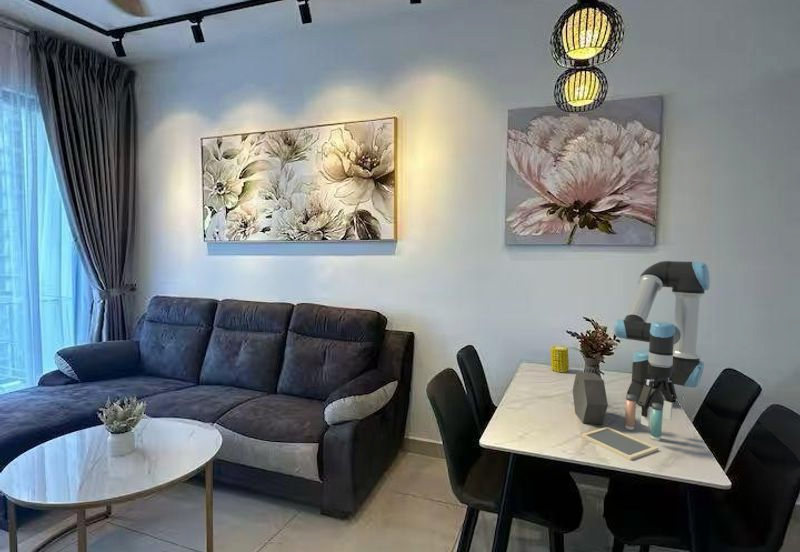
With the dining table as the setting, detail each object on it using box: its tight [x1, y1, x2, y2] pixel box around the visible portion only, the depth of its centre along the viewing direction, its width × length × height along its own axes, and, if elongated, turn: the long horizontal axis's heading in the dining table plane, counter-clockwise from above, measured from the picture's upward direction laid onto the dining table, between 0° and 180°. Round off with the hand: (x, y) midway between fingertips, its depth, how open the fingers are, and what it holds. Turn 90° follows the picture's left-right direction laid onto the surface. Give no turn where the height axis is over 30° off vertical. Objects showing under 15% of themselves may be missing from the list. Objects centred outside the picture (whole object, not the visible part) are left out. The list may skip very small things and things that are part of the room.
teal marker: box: [649, 403, 664, 442], centre depth 155 cm, size 4×4×13 cm
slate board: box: [579, 426, 659, 461], centre depth 152 cm, size 15×19×1 cm
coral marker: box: [624, 393, 637, 431], centre depth 164 cm, size 4×4×13 cm
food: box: [549, 344, 570, 373], centre depth 241 cm, size 15×12×10 cm
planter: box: [572, 371, 608, 425], centre depth 173 cm, size 17×8×21 cm
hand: (656, 422), depth 155 cm, fingers open, 13 cm apart
